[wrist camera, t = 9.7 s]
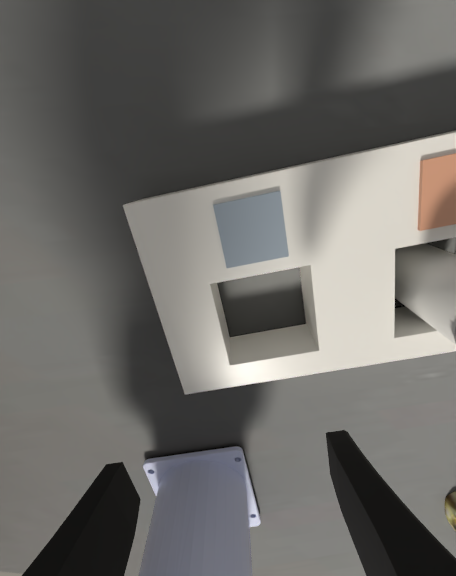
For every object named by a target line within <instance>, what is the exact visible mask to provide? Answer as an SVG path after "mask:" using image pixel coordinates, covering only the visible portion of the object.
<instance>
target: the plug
mask: <svg viewBox="0 0 456 576" xmlns="http://www.w3.org/2000/svg"><path fill="white" fill-rule="evenodd" d="M395 299H397V300H398V301H399V302H401V303H402V304H403V305H404V306H406V307H407V308H408V309H410V310H411V311H412V312H414V313H415V314H416V315H417V316H419V317H420V318H421V319H423V320H424V321H425V322H427V323H428V324H429V325H431V326H432V327H433V328H434V329H436V330H437V331H438V332H440V333H441V334H442V335H444V336H445V337H446V338H448V339H449V340H450V341H451V342H453V343H454V344H455V345H456V255H455V254H453V253H450V252H447V251H445V250H442V249H439V248H436V247H434V246H431V245H428V244H425V243H423V244H418V245H413V246H407V247H402V248H398V249H396V250H395Z"/></svg>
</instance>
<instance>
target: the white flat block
mask: <svg viewBox="0 0 456 576" xmlns="http://www.w3.org/2000/svg"><path fill="white" fill-rule="evenodd" d="M123 208H124V211H125V214H126V217H127V220H128V223H129V226H130V229H131V232H132V235H133V238H134V241H135V244H136V247H137V251H138V254H139V257H140V260H141V263H142V266H143V269H144V272H145V275H146V278H147V281H148V284H149V287H150V290H151V293H152V296H153V299H154V302H155V305H156V308H157V311H158V314H159V317H160V320H161V323H162V327H163V330H164V333H165V336H166V339H167V342H168V345H169V348H170V351H171V354H172V357H173V360H174V363H175V366H176V369H177V372H178V375H179V378H180V381H181V384H182V387H183V390H184V393H185V395H186V394H192V393H198V392H204V391H211V390H217V389H223V388H229V387H236V386H242V385H248V384H254V383H261V382H267V381H273V380H279V379H285V378H292V377H298V376H304V375H310V374H317V373H323V372H329V371H335V370H342V369H348V368H354V367H360V366H366V365H373V364H379V363H385V362H391V361H398V360H404V359H410V358H416V357H422V356H429V355H435V354H441V353H447V352H454V351H456V345H455V344H454V343H453V342H451V341H450V340H449V339H448V338H446V337H445V336H444V335H442V334H441V333H440V332H438V331H437V330H436V329H434V328H433V327H432V326H431V325H429V324H428V323H427V322H425V321H424V320H423V319H421V318H420V317H419V316H417V315H416V314H415V313H414V312H412V311H411V310H410V309H408V308H407V307H400V308H395V249H397V248H402V247H407V246H413V245H418V244H423V243H428V242H434V241H439V240H444V239H449V238H455V237H456V130H455V131H451V132H446V133H442V134H437V135H432V136H428V137H423V138H419V139H414V140H410V141H405V142H400V143H396V144H391V145H387V146H382V147H378V148H373V149H368V150H364V151H359V152H355V153H350V154H346V155H341V156H336V157H332V158H327V159H323V160H318V161H314V162H309V163H304V164H300V165H295V166H291V167H286V168H281V169H277V170H272V171H268V172H263V173H259V174H254V175H249V176H245V177H240V178H236V179H231V180H227V181H222V182H217V183H213V184H208V185H204V186H199V187H195V188H190V189H185V190H181V191H176V192H172V193H167V194H163V195H158V196H153V197H149V198H144V199H140V200H137V201H134V202H131V203H127V204H124V205H123ZM297 267H299V269H300V278H301V286H302V295H303V303H304V311H305V320H306V324H303V325H297V326H291V327H286V328H280V329H274V330H268V331H263V332H257V333H251V334H245V335H240V336H234V337H230V336H229V332H228V327H227V323H226V319H225V315H224V310H223V306H222V302H221V298H220V293H219V289H218V285H217V283H218V282H224V281H229V280H234V279H239V278H245V277H250V276H255V275H260V274H266V273H271V272H276V271H281V270H287V269H292V268H297Z"/></svg>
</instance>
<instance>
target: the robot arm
mask: <svg viewBox="0 0 456 576" xmlns="http://www.w3.org/2000/svg"><path fill="white" fill-rule="evenodd" d="M326 438H327V448H328V457H329V466H330V475H331V478H332V481H333V485H334V488H335V492H336V495H337V498H338V502H339V505H340V508H341V511H342V514H343V516H344V519H345V522H346V524H347V527H348V529H349V532H350V535H351V537H352V540H353V542H354V545H355V547H356V550H357V552H358V555H359V558H360V560H361V563H362V565H363V568H364V570H365V573H366V575H367V576H456V558H455V557H454V556H453V555H452V554H451V553H450V552H449V551H448V550H447V549H446V548H445V547H444V546H443V545H442V544H441V543H440V542H439V541H438V540H437V539H436V538H435V537H434V536H433V535H432V534H431V533H430V532H429V530H428V529H427V528H426V527H425V526H424V525H423V524H422V523H421V522H420V521H419V520H418V519H417V518H416V516H415V515H414V514H413V513H412V512H411V511H410V510H409V509H408V508H407V506H406V505H405V504H404V503H403V502H402V501H401V500H400V499H399V497H398V496H397V495H396V494H395V493H394V491H393V490H392V489H391V488H390V487H389V486H388V484H387V483H386V482H385V481H384V480H383V479H382V477H381V476H380V475H379V474H378V472H377V471H376V470H375V469H374V467H373V466H372V465H371V464H370V462H369V461H368V460H367V459H366V457H365V456H364V455H363V453H362V452H361V451H360V449H359V448H358V446H357V445H356V444H355V442H354V441H353V439H352V438H351V437H350V435H349V433H348V432H346V431H345V430H342V431H335V432H328V433H326ZM143 468H144V470H145V473H146V475H147V477H148V479H149V482H150V484H151V486H152V488H153V490H154V493H155V495H156V501H155V505H154V510H153V514H152V518H151V523H150V527H149V532H148V536H147V541H146V545H145V550H144V554H143V559H142V563H141V567H140V572H139V576H252V560H251V543H250V527H254V526H258V525H260V523H261V520H260V515H259V511H258V507H257V503H256V499H255V496H254V492H253V488H252V484H251V480H250V476H249V472H248V468H247V465H246V461H245V457H244V453H243V450H242V448H240V447H238V446H234V447H227V448H221V449H214V450H207V451H200V452H193V453H186V454H179V455H172V456H165V457H158V458H151V459H147V460H145V461H144V464H143ZM139 506H140V497H139V495H138V493H137V491H136V489H135V487H134V485H133V483H132V481H131V479H130V477H129V475H128V472H127V470H126V468H125V466H124V464H123V462H120V463H113V464H106V466H105V467H104V468H103V470H102V471H101V472H100V474H99V475H98V476H97V478H96V479H95V480H94V482H93V483H92V485H91V486H90V487H89V489H88V490H87V491H86V493H85V494H84V495H83V497H82V498H81V500H80V501H79V502H78V504H77V505H76V506H75V508H74V509H73V510H72V512H71V513H70V514H69V516H68V517H67V518H66V520H65V521H64V522H63V524H62V525H61V526H60V528H59V529H58V530H57V532H56V533H55V534H54V536H53V537H52V538H51V540H50V541H49V542H48V544H47V545H46V546H45V547H44V549H43V550H42V551H41V552H40V554H39V555H38V556H37V557H36V559H35V560H34V561H33V562H32V564H31V565H30V566H29V567H28V569H27V570H26V571H25V572H24V574H23V575H22V576H124V573H125V570H126V566H127V562H128V558H129V555H130V551H131V547H132V543H133V539H134V535H135V530H136V524H137V519H138V512H139Z"/></svg>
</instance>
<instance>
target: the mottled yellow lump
mask: <svg viewBox="0 0 456 576" xmlns="http://www.w3.org/2000/svg"><path fill="white" fill-rule="evenodd" d="M445 514H446V517H447V519H448V521H449V523H450V524H451V526H452V527H453V529H454V530H455V531H456V491H455V492H452V493H450V494H449V495H448V496H447V497H446V498H445Z"/></svg>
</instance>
